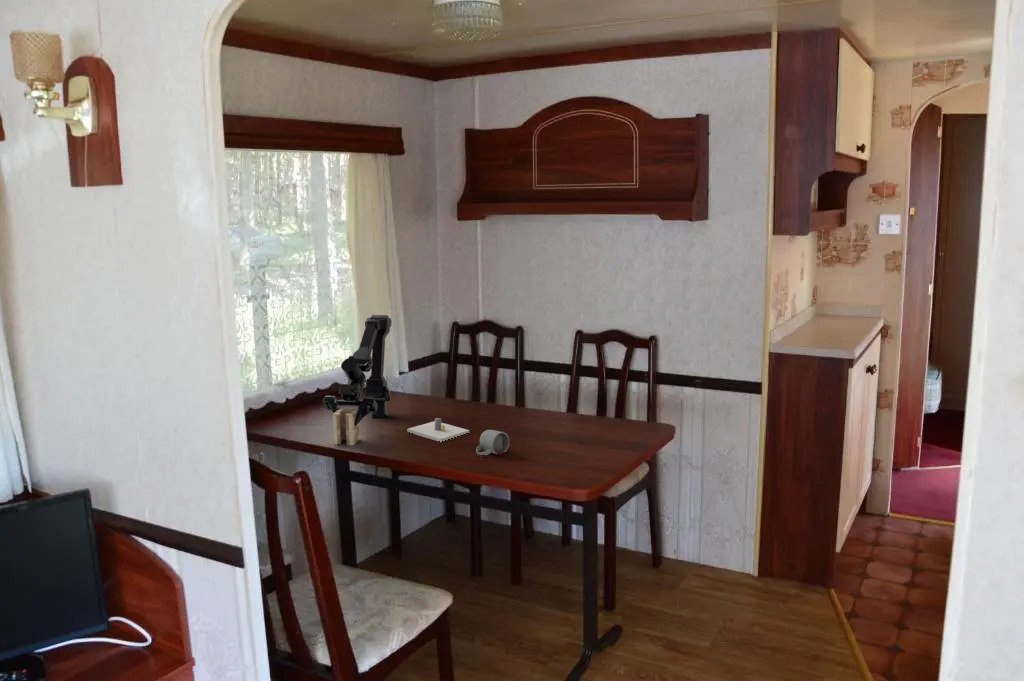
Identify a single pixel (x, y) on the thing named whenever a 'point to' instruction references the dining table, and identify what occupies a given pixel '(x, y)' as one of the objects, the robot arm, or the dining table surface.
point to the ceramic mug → (493, 442)
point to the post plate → (437, 430)
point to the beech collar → (345, 426)
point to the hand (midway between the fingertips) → (345, 424)
